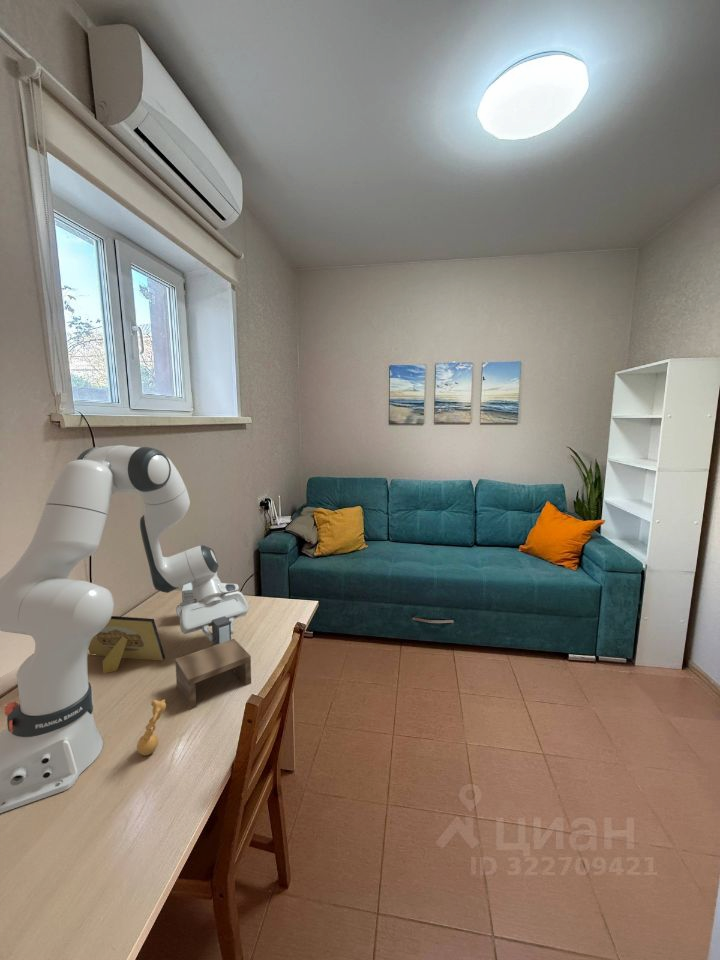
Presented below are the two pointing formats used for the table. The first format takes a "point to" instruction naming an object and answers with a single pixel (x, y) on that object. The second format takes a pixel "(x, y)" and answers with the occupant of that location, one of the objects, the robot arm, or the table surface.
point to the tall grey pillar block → (221, 630)
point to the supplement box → (187, 592)
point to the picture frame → (127, 641)
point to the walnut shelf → (211, 667)
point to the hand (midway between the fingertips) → (222, 637)
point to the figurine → (151, 730)
